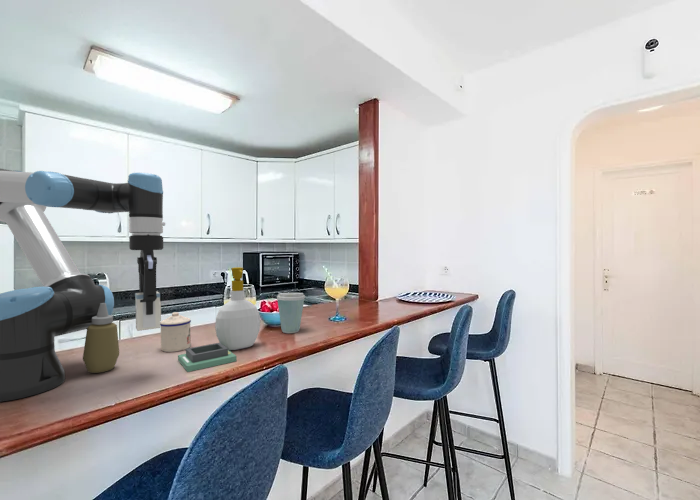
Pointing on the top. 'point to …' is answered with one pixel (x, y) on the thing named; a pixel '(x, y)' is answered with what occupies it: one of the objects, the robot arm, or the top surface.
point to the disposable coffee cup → (290, 311)
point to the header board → (206, 357)
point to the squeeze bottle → (101, 342)
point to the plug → (140, 312)
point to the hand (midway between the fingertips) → (147, 325)
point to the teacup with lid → (175, 333)
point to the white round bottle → (237, 318)
